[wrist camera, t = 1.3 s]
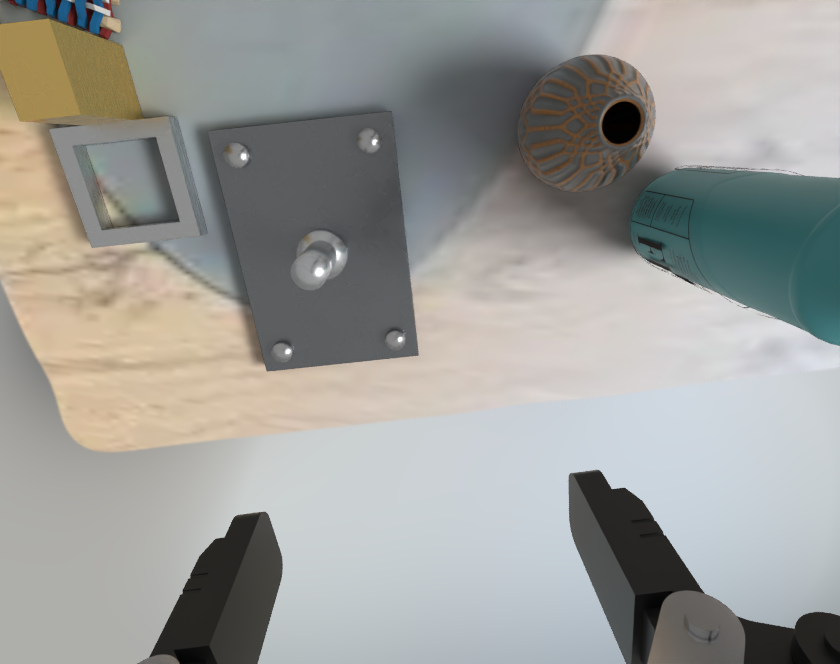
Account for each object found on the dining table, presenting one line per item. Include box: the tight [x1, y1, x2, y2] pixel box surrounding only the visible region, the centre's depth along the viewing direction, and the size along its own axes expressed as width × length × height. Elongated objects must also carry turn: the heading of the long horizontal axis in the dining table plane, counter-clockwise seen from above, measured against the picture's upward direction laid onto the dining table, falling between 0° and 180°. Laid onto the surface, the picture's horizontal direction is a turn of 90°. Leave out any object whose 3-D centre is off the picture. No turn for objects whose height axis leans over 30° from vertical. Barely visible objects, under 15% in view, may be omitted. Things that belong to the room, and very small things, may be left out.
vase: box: [517, 55, 655, 192], centre depth 25 cm, size 7×7×9 cm
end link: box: [0, 19, 207, 248], centre depth 26 cm, size 11×7×6 cm, turn 6°
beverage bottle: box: [630, 165, 840, 346], centre depth 22 cm, size 6×7×20 cm
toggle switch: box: [207, 111, 419, 371], centre depth 29 cm, size 16×11×6 cm
